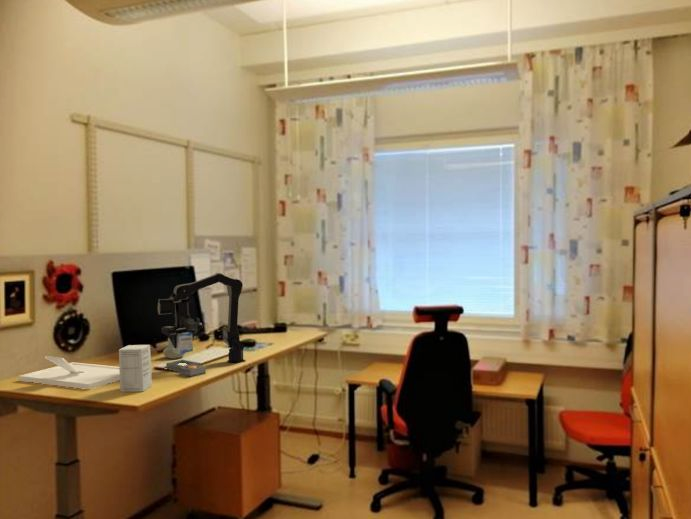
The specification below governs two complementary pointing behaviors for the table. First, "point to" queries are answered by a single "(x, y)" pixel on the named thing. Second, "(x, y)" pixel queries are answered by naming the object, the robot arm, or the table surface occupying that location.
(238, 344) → the robot arm
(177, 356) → the air freshener
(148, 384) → the supplement box
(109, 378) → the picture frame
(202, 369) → the button housing
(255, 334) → the table surface
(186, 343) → the medicine box
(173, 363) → the grey square tray
